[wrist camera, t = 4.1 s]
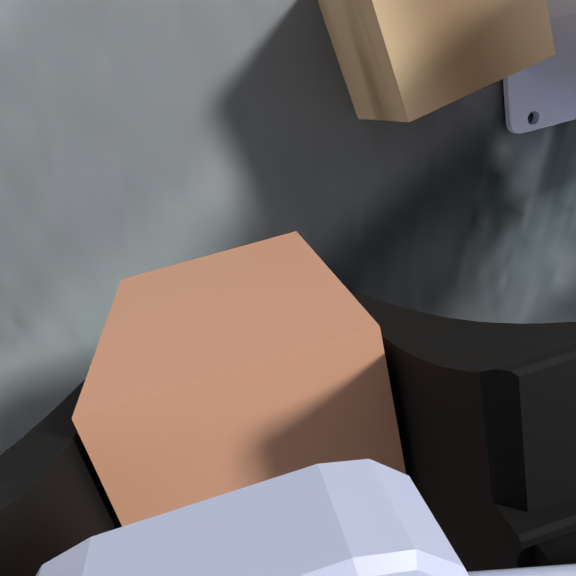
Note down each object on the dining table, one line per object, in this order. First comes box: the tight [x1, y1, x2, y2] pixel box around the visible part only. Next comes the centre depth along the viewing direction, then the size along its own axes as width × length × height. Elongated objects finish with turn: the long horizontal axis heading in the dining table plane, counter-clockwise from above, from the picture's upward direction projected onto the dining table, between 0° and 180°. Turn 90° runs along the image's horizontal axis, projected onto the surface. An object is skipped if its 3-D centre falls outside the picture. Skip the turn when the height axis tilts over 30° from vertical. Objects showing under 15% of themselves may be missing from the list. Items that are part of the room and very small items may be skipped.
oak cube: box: [317, 0, 556, 122], centre depth 17 cm, size 5×5×5 cm
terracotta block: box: [72, 231, 406, 527], centre depth 11 cm, size 4×4×6 cm
